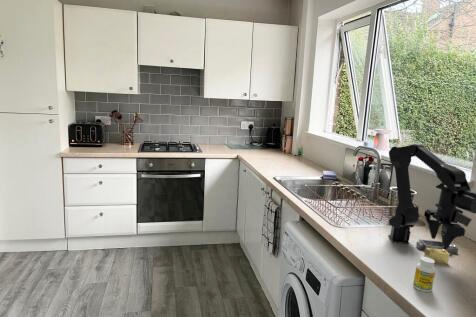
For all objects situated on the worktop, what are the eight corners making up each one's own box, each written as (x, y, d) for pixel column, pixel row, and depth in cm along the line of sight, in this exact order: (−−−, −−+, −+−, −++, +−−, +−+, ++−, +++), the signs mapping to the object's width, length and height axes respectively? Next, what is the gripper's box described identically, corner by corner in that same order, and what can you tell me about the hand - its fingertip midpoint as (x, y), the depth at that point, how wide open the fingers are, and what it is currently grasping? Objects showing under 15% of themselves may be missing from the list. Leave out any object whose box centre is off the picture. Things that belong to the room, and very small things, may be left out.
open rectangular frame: (420, 251, 141) (422, 245, 140) (414, 244, 147) (415, 238, 147) (459, 255, 140) (460, 249, 140) (451, 248, 146) (452, 242, 146)
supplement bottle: (428, 284, 116) (433, 257, 114) (434, 293, 110) (440, 265, 109) (410, 281, 116) (415, 254, 114) (415, 290, 111) (421, 262, 109)
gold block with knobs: (428, 261, 133) (430, 250, 132) (423, 257, 136) (426, 246, 135) (447, 264, 132) (450, 252, 131) (442, 259, 136) (445, 248, 135)
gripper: (486, 214, 120) (475, 258, 123) (457, 198, 138) (448, 236, 142) (451, 211, 121) (442, 254, 124) (427, 194, 139) (419, 232, 142)
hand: (438, 243), depth 133 cm, fingers open, 9 cm apart
